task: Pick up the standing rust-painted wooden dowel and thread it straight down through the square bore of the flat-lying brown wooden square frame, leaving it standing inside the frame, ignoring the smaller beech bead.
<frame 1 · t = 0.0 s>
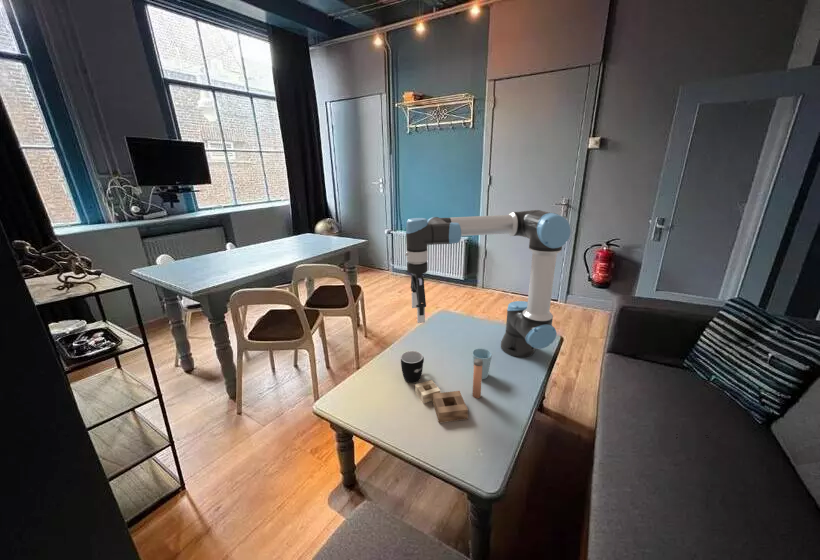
hand: (418, 314, 125), 28 cm above the table, fingers open, 13 cm apart
brown wooden square frame: (449, 410, 115), on the table
cup: (480, 375, 134), on the table
bead beech: (427, 395, 123), on the table
mug: (414, 376, 134), on the table
dowel: (476, 395, 122), on the table
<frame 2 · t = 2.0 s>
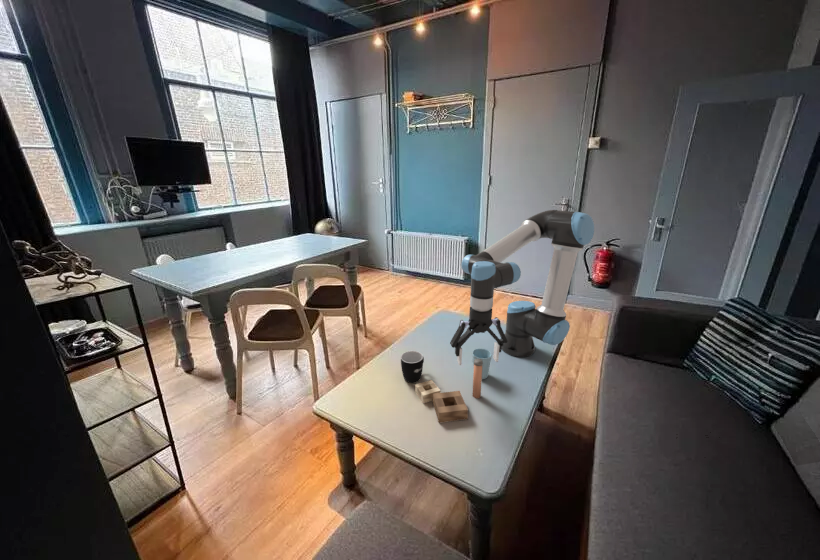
hand: (477, 361, 117), 15 cm above the table, fingers open, 13 cm apart
nothing on the table moved.
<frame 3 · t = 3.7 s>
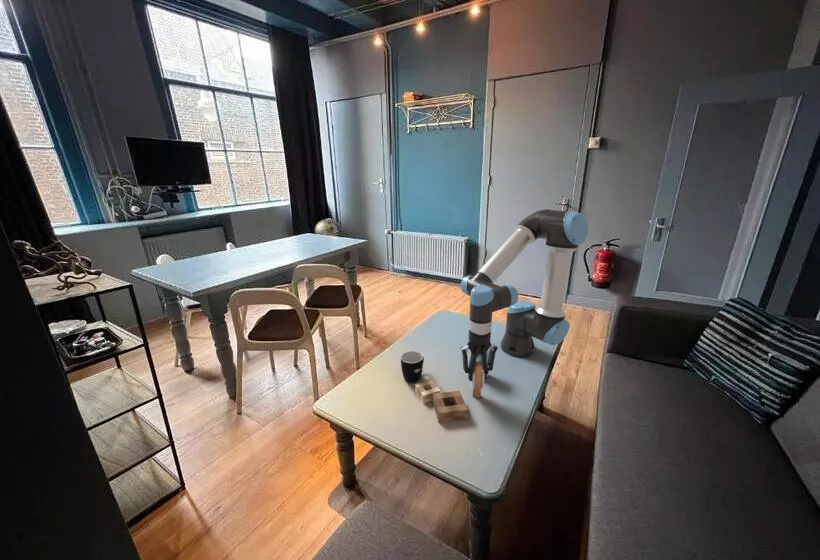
hand: (476, 386, 121), 4 cm above the table, fingers closed on dowel, 3 cm apart
dowel: (476, 395, 122), on the table, touching gripper
everything else where it was.
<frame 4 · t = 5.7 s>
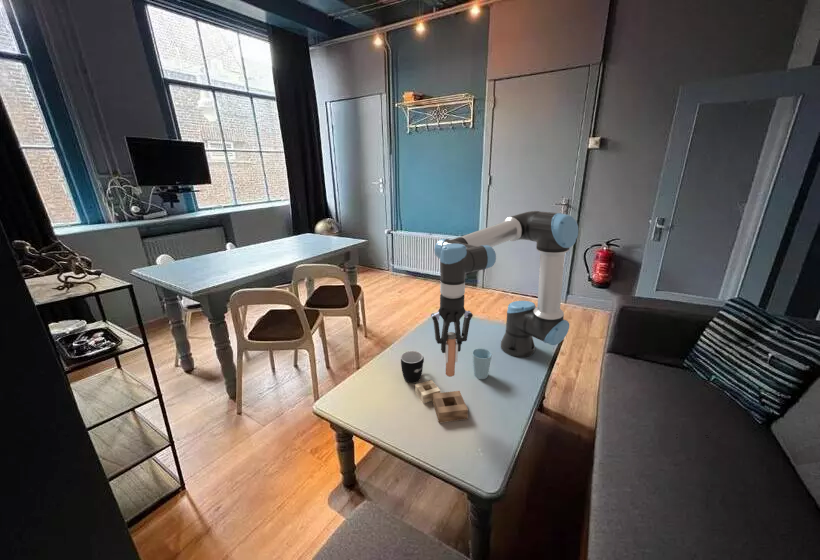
hand: (450, 359, 108), 21 cm above the table, fingers closed on dowel, 2 cm apart
dowel: (450, 373, 110), point 15 cm above the table, touching gripper
everything else where it was.
when the fingers open (6 cm above the table, at t = 8.0 s): dowel stays where it is, resting in brown wooden square frame.
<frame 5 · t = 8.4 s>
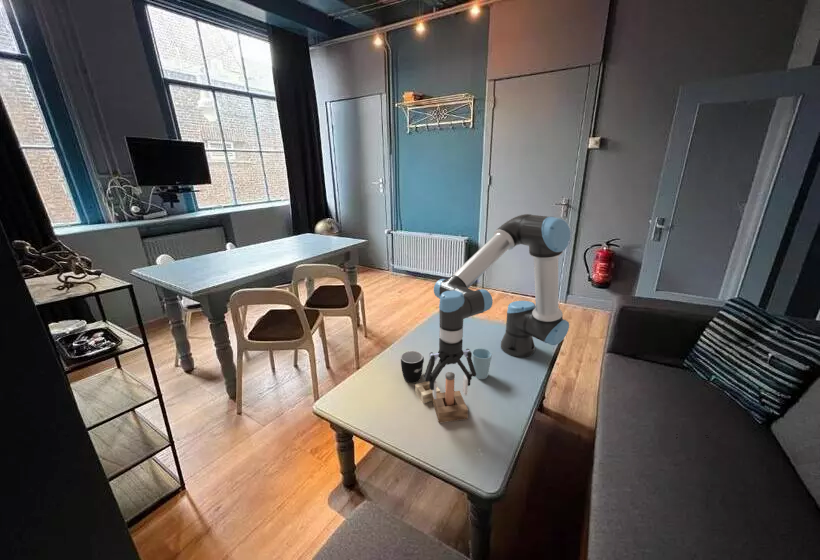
hand: (449, 394, 113), 7 cm above the table, fingers open, 10 cm apart
dowel: (449, 410, 115), resting in brown wooden square frame
everything else where it was.
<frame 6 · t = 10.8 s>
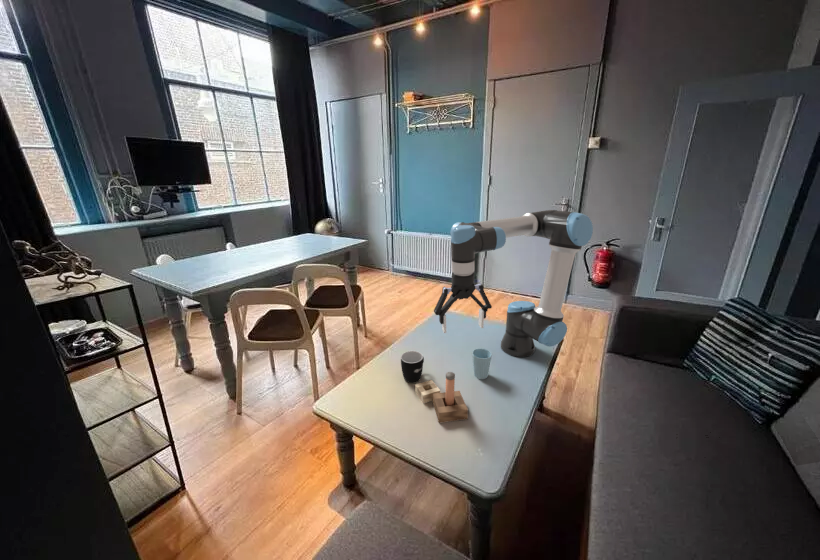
hand: (462, 328, 116), 27 cm above the table, fingers open, 13 cm apart
nothing on the table moved.
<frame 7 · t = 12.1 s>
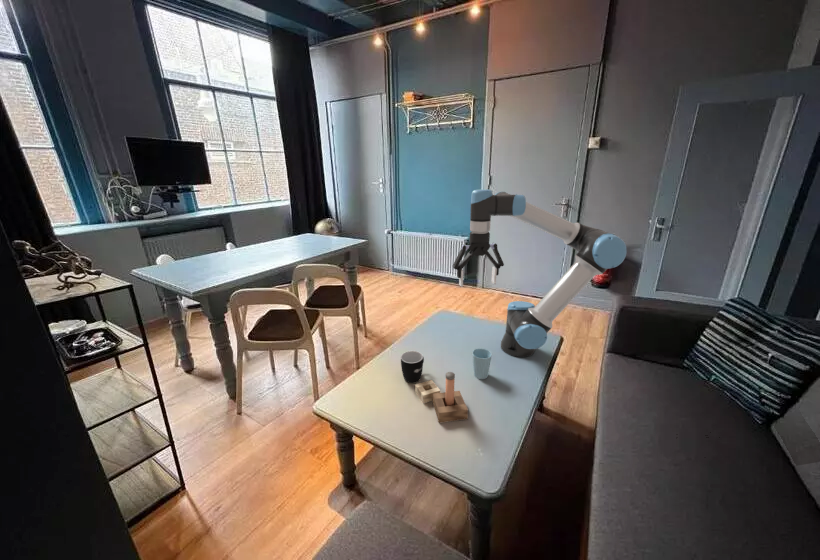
hand: (477, 284, 131), 37 cm above the table, fingers open, 13 cm apart
nothing on the table moved.
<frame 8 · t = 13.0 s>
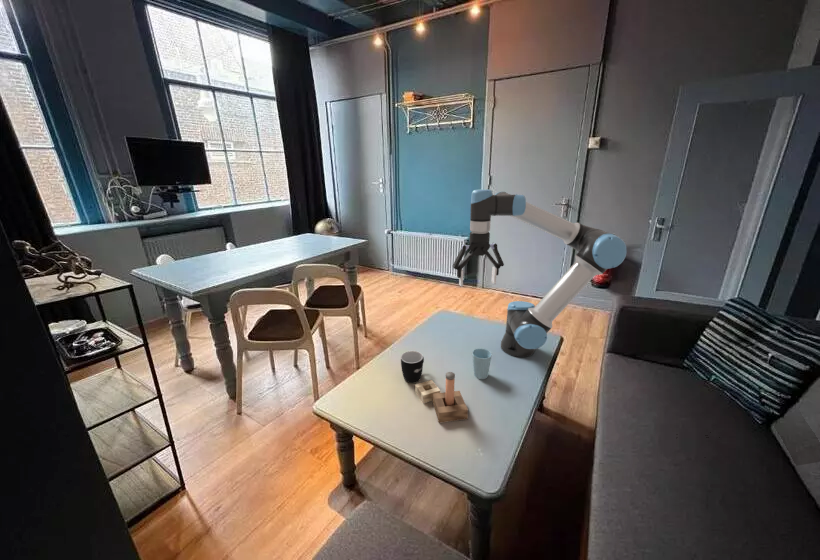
hand: (477, 284, 131), 37 cm above the table, fingers open, 13 cm apart
nothing on the table moved.
at the end: dowel 0.0 cm off-centre on the brown wooden square frame, point 0.0 cm above the brown wooden square frame's base; dowel tilted 0°; the gripper is holding nothing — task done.
